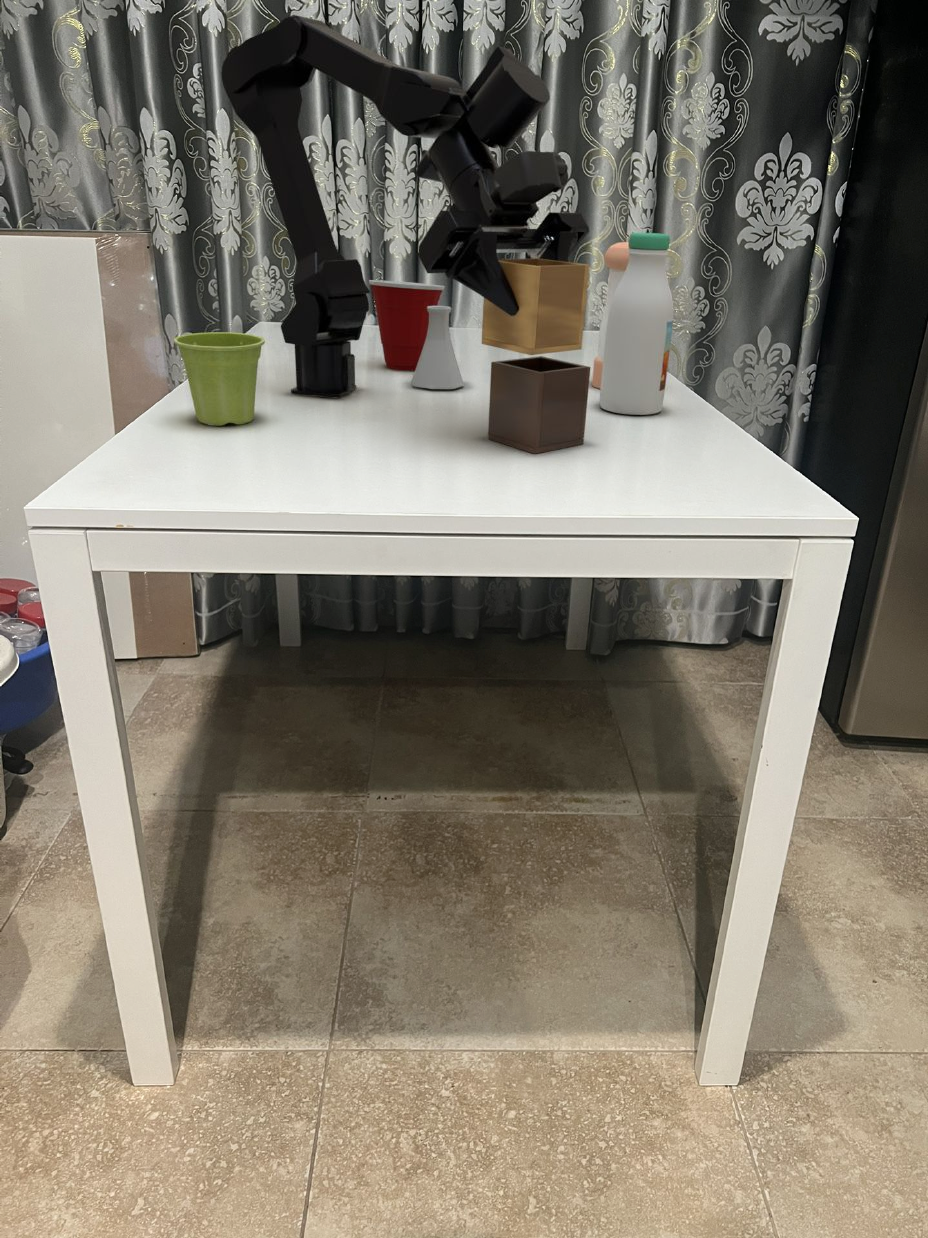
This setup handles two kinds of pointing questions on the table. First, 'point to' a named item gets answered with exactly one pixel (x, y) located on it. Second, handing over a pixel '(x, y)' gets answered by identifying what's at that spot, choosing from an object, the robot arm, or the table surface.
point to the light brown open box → (539, 307)
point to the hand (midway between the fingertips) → (543, 310)
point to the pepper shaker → (610, 299)
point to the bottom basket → (538, 403)
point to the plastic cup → (403, 319)
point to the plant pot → (221, 374)
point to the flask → (438, 354)
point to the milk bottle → (639, 331)
